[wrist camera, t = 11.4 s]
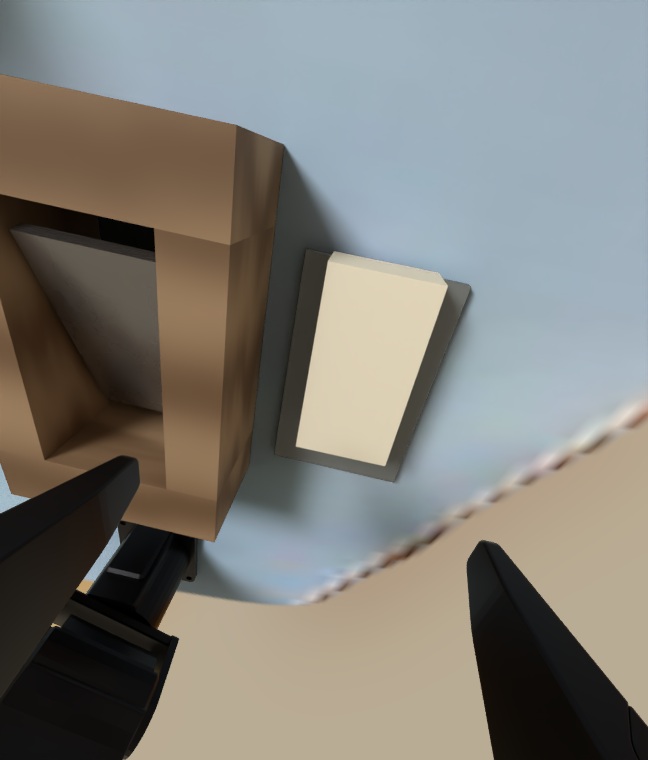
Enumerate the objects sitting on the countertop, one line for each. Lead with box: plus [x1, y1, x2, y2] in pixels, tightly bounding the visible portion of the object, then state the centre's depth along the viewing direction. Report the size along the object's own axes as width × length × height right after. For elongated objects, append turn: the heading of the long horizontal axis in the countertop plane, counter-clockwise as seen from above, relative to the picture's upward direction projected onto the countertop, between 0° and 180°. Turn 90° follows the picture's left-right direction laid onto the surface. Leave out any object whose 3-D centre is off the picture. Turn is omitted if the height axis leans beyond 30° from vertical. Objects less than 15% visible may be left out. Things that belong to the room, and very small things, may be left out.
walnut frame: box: [0, 74, 284, 542], centre depth 18 cm, size 19×12×6 cm, turn 169°
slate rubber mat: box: [274, 249, 471, 482], centre depth 20 cm, size 13×8×1 cm, turn 169°
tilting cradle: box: [9, 222, 163, 412], centre depth 17 cm, size 11×6×1 cm, turn 170°
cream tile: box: [296, 251, 448, 466], centre depth 18 cm, size 10×5×2 cm, turn 170°
